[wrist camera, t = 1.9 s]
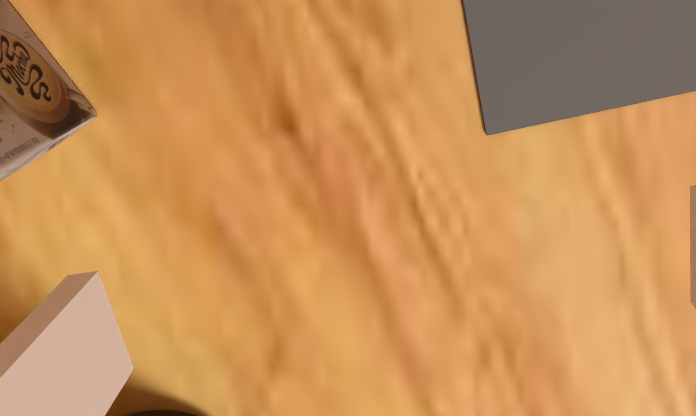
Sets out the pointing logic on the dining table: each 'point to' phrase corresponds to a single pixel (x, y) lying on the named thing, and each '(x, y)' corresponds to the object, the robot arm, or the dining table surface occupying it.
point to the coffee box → (33, 97)
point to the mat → (577, 56)
